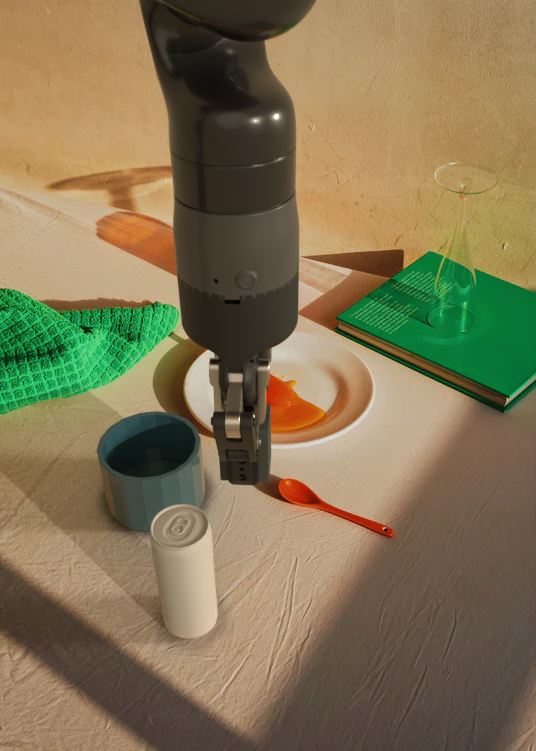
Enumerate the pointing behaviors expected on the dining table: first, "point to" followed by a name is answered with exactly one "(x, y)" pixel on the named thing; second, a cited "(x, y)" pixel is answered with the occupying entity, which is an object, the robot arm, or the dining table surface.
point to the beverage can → (185, 570)
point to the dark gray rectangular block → (263, 450)
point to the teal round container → (150, 466)
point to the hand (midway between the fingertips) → (245, 464)
